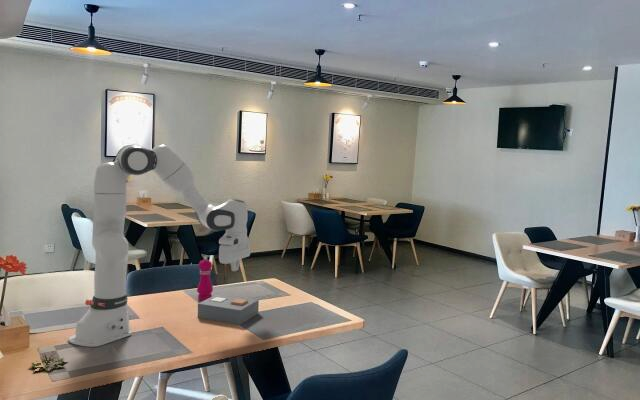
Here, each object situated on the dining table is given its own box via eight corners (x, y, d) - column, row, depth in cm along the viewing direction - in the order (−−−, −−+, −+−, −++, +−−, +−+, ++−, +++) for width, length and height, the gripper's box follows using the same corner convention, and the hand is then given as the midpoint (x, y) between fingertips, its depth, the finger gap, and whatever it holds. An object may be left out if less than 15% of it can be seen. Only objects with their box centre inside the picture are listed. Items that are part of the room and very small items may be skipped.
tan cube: (241, 315, 212) (241, 303, 212) (230, 313, 214) (231, 301, 214) (247, 311, 217) (247, 300, 217) (236, 309, 219) (237, 298, 218)
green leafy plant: (26, 363, 165) (26, 349, 165) (67, 357, 171) (67, 343, 171) (26, 378, 155) (26, 363, 154) (70, 371, 161) (70, 357, 160)
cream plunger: (220, 313, 216) (220, 301, 215) (210, 311, 218) (210, 300, 217) (226, 309, 221) (226, 298, 220) (216, 308, 222) (216, 297, 222)
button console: (240, 324, 207) (240, 310, 206) (197, 317, 213) (197, 303, 213) (258, 313, 222) (258, 299, 221) (218, 306, 228) (218, 293, 228)
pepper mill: (210, 301, 236) (211, 258, 234) (195, 300, 236) (195, 257, 235) (214, 296, 244) (214, 255, 242) (199, 296, 244) (199, 254, 242)
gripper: (241, 233, 224) (240, 264, 225) (216, 240, 205) (215, 274, 206) (254, 235, 222) (253, 266, 223) (230, 242, 203) (229, 276, 204)
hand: (234, 270), depth 215 cm, fingers closed
